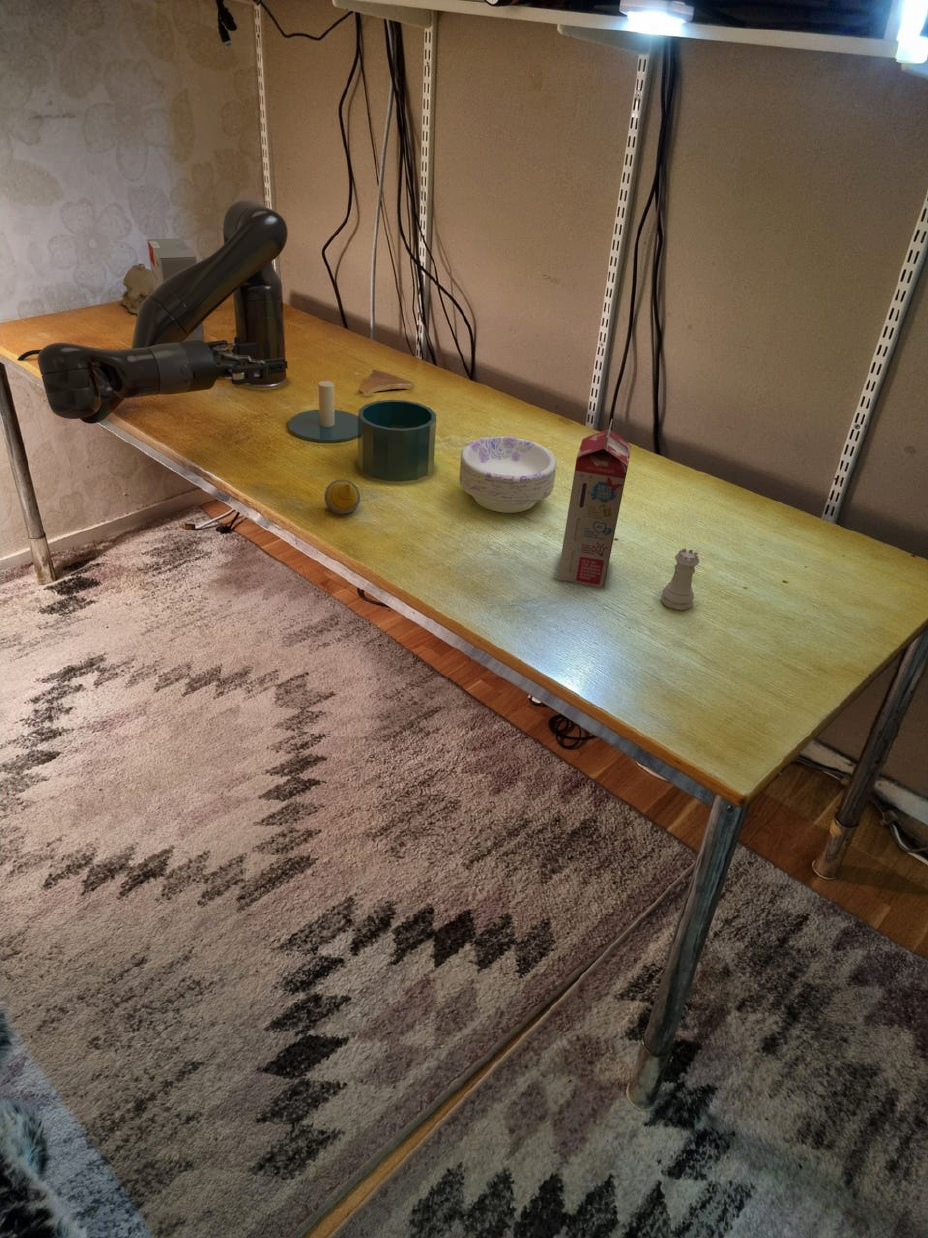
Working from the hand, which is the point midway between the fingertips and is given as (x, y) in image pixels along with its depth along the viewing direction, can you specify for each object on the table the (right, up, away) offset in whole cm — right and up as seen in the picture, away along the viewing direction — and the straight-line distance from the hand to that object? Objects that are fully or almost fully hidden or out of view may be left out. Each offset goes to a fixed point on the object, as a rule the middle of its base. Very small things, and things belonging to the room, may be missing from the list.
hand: (271, 356), depth 144 cm
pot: (+20, -18, +4) cm, 27 cm away
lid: (+7, -8, +14) cm, 18 cm away
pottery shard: (+16, +3, +33) cm, 37 cm away
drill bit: (+14, -27, -10) cm, 32 cm away
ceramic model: (-45, +32, +66) cm, 86 cm away
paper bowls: (+39, -24, -3) cm, 46 cm away
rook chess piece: (+61, -41, -24) cm, 78 cm away
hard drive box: (-30, +17, +48) cm, 59 cm away
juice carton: (+49, -37, -19) cm, 64 cm away
